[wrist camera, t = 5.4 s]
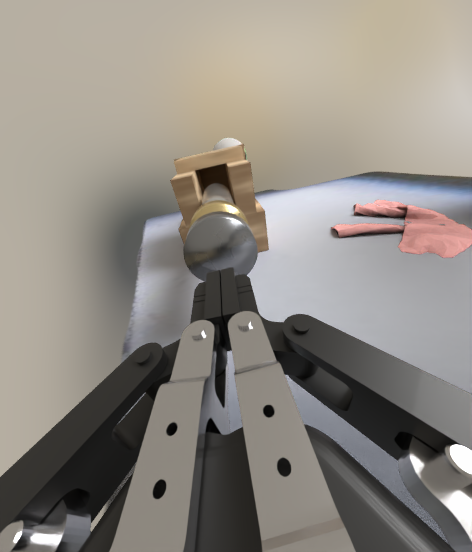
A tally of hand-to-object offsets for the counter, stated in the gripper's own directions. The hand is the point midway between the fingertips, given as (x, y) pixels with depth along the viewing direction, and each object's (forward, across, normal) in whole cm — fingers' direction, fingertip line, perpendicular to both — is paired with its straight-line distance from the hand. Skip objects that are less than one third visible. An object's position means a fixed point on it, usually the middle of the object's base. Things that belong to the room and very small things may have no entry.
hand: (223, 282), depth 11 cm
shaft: (+12, 0, +3) cm, 12 cm away
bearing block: (+25, 0, +8) cm, 26 cm away
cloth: (+20, -24, +9) cm, 32 cm away
